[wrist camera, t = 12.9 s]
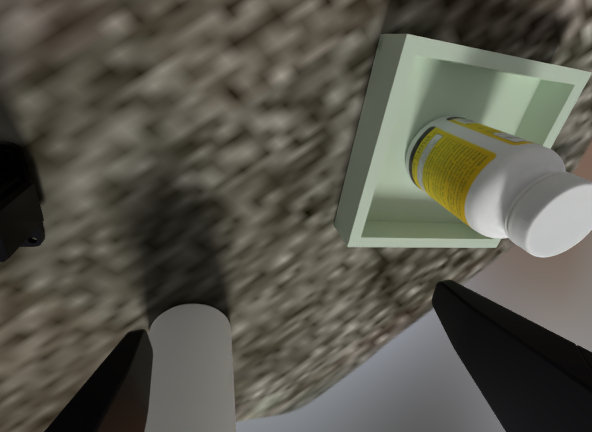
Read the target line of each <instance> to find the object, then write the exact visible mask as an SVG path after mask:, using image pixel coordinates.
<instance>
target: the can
mask: <svg viewBox="0 0 592 432" xmlns="http://www.w3.org/2000/svg"><path fill="white" fill-rule="evenodd" d="M148 337H149V340H150V343H151V345H152V348H153V364H152V375H151V387H150V398H149V408H148V416H147V422H146V427H145V432H236V420H235V400H234V380H233V361H232V343H231V329H230V323H229V321H228V319H227V317H226V316H225V315H224V314H223V313H222V312H220V311H219V310H217V309H216V308H214V307H211V306H209V305H205V304H199V303H188V304H181V305H177V306H175V307H172V308H171V309H169V310H167V311H165V312H164V313H162V314H161V315H159V316H158V317H157V318H156V319H155V320H154V322H153V323H152V325H151V327H150V331H149V334H148Z"/></svg>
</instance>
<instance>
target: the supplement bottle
mask: <svg viewBox="0 0 592 432" xmlns="http://www.w3.org/2000/svg"><path fill="white" fill-rule="evenodd" d="M406 171H407V174H408V176H409V178H410V179H411V181H412V182H413V183H414V184H415V185H416V186H417V187H418V188H419V189H421V190H422V191H423V192H425V193H426V194H427V195H429V196H430V197H431V198H433V199H434V200H435V201H437V202H438V203H439V204H440V205H442V206H443V207H444V208H446V209H447V210H448V211H450V212H451V213H452V214H453V215H455V216H456V217H457V218H459V219H460V220H461V221H463V222H464V223H465V224H467V225H468V226H469V227H471V228H472V229H473V230H475V231H477V232H478V233H480V234H482V235H484V236H486V237H490V238H509V239H510V240H511V241H512V242H513V243H515V244H516V245H518V246H520V247H521V248H523V249H524V250H525V251H527V252H528V253H530V254H532V255H534V256H537V257H550V256H554V255H557V254H560V253H562V252H564V251H566V250H568V249H570V248H571V247H573V246H574V245H576V244H577V243H578V242H579V241H581V240H582V239H583V238H584V237H585V236H586V235H587V234H588V233H589V232H590V231H591V230H592V182H591V181H588V180H586V179H584V178H581V177H579V176H577V175H574V174H571V173H569V172H566V171H565V166H564V163H563V161H562V159H561V158H560V156H559V155H558V154H557V153H556V152H554V151H553V150H551V149H549V148H547V147H544V146H542V145H539V144H537V143H534V142H531V141H528V140H525V139H522V138H519V137H517V136H514V135H511V134H508V133H505V132H502V131H500V130H497V129H494V128H491V127H488V126H486V125H482V124H480V123H477V122H474V121H471V120H468V119H465V118H462V117H458V116H445V117H441V118H438V119H436V120H434V121H432V122H430V123H429V124H427V125H426V126H425V127H424V128H422V129H421V130H420V131H419V133H418V134H417V135H416V136H415V137H414V139H413V140H412V142H411V144H410V146H409V148H408V151H407V155H406Z"/></svg>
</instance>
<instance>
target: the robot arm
mask: <svg viewBox="0 0 592 432" xmlns="http://www.w3.org/2000/svg"><path fill="white" fill-rule="evenodd" d="M6 149H9V150H11V151H12V152H13V153H14V156H12V155H10V154H8V153H7V151H6ZM43 220H44V219H43V215H42V211H41V207H40V203H39V199H38V195H37V191H36V187H35V184H34V183H33V182H32V181H31V180H30V177H29V173H28V169H27V165H26V162H25V158H24V154H23V151H22V149H21V148H20V147H19V146H18V145H17V144H15V143H11V142H1V141H0V262H5V261H6V260H7V259H8V258H10V256H11V255H12V254H13V253H14V252H15V251H16V250H17V249H18V248H19V247H35V246H39V245H41V243H42V242H43V241H44V239H45V235H44V231H43V227H42V224H41V223H42V222H43ZM31 236H32V237H35V238H36V239H37V240H34V239H32V238H31ZM432 304H433V307H434V309H435V311H436V313H437V315H438V317H439V319H440V321H441V323H442V325H443V327H444V329H445V331H446V333H447V335H448V337H449V339H450V341H451V343H452V345H453V347H454V349H455V350H456V352H457V354H458V356H459V357H460V359H461V361H462V362H463V364H464V365H465V367H466V369H467V370H468V372H469V373H470V375H471V376H472V378H473V380H474V381H475V383H476V385H477V386H478V388H479V389H480V391H481V393H482V394H483V396H484V397H485V399H486V401H487V402H488V404H489V405H490V407H491V409H492V410H493V412H494V413H495V415H496V416H497V418H498V420H499V421H500V423H501V425H502V426H503V428H504V429H505V431H506V432H592V352H590V351H588V350H586V349H584V348H582V347H581V346H578V345H577V346H576V344H574V343H573V342H571V341H569V340H567V339H565V338H563V337H561V336H559V335H557V334H555V333H553V332H551V331H549V330H547V329H545V328H544V327H541V326H540V325H538V324H536V323H534V322H532V321H530V320H528V319H526V318H524V317H522V316H520V315H518V314H516V313H514V312H512V311H511V310H509V309H507V308H505V307H503V306H501V305H499V304H497V303H495V302H493V301H491V300H489V299H487V298H485V297H483V296H481V295H480V294H478V293H476V292H474V291H472V290H470V289H468V288H466V287H464V286H462V285H460V284H458V283H456V282H454V281H452V280H443V281H439V282H438V283H437V284H436V287H435V291H434V294H433V297H432ZM152 364H153V348H152V345H151V343H150V340H149V337H148V334H147V332H146V331H145V330H144V329H141V330H135V331H130V332H128V333H127V334H126V335H125V336H124V338H123V339H122V340H121V341H120V342H119V344H118V345H117V346H116V347H115V348H114V350H113V351H112V352H111V353H110V354H109V355H108V357H107V358H106V359H105V360H104V361H103V363H102V364H101V365H100V366H99V367H98V369H97V370H96V371H95V372H94V373H93V374H92V376H91V377H90V378H89V379H88V380H87V382H86V383H85V384H84V385H83V386H82V388H81V389H80V390H79V391H78V392H77V393H76V395H75V396H74V397H73V398H72V399H71V401H70V402H69V403H68V404H67V405H66V407H65V408H64V409H63V410H62V411H61V412H60V414H59V415H58V416H57V417H56V418H55V420H54V421H53V422H52V423H51V424H50V425H49V427H48V428H47V429H46V430H45V431H44V432H145V427H146V422H147V416H148V408H149V398H150V387H151V375H152Z"/></svg>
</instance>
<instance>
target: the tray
mask: <svg viewBox="0 0 592 432" xmlns="http://www.w3.org/2000/svg"><path fill="white" fill-rule="evenodd" d="M591 74H592V73H591V72H586V71H582V70H577V69H572V68H567V67H563V66H558V65H553V64H548V63H544V62H539V61H534V60H529V59H524V58H520V57H515V56H510V55H505V54H501V53H496V52H491V51H486V50H482V49H477V48H472V47H467V46H463V45H458V44H453V43H448V42H444V41H439V40H434V39H429V38H424V37H420V36H415V35H410V34H381V35H380V39H379V43H378V47H377V51H376V55H375V59H374V63H373V67H372V71H371V75H370V79H369V83H368V87H367V92H366V96H365V100H364V104H363V108H362V112H361V116H360V120H359V124H358V128H357V132H356V136H355V140H354V144H353V149H352V153H351V157H350V161H349V165H348V169H347V173H346V177H345V181H344V185H343V189H342V193H341V197H340V201H339V206H338V210H337V214H336V218H335V222H334V226H335V228H336V229H337V231H338V233H339V234H340V236H341V237H342V239H343V241H344V242H345V244H346V245H347V247H455V248H496V247H497V245H498V244H499V242H500V240H501V238H490V237H486V236H484V235H482V234H480V233H478V232H477V231H475V230H473V229H472V228H471V227H469V226H468V225H467V224H465V223H464V222H463V221H461V220H460V219H459V218H457V217H456V216H455V215H453V214H452V213H451V212H450V211H448V210H447V209H446V208H444V207H443V206H442V205H440V204H439V203H438V202H437V201H435V200H434V199H433V198H431V197H430V196H429V195H427V194H426V193H425V192H423V191H422V190H421V189H419V188H418V187H417V186H416V185H415V184H414V183H413V182H412V181H411V179H410V178H409V176H408V174H407V171H406V155H407V151H408V148H409V146H410V144H411V142H412V140H413V139H414V137H415V136H416V135H417V134H418V133H419V131H420V130H421V129H422V128H424V127H425V126H426V125H427V124H429V123H430V122H432V121H434V120H436V119H438V118H441V117H445V116H458V117H462V118H465V119H468V120H471V121H474V122H477V123H480V124H482V125H486V126H488V127H491V128H494V129H497V130H500V131H502V132H505V133H508V134H511V135H514V136H517V137H519V138H522V139H525V140H528V141H531V142H534V143H537V144H539V145H542V146H544V147H547V148H549V149H551V147H552V145H553V143H554V141H555V139H556V138H557V136H558V134H559V132H560V130H561V128H562V127H563V125H564V123H565V121H566V119H567V118H568V116H569V114H570V112H571V110H572V108H573V107H574V105H575V103H576V101H577V99H578V97H579V96H580V94H581V92H582V90H583V88H584V86H585V85H586V83H587V81H588V79H589V77H590V76H591Z"/></svg>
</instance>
